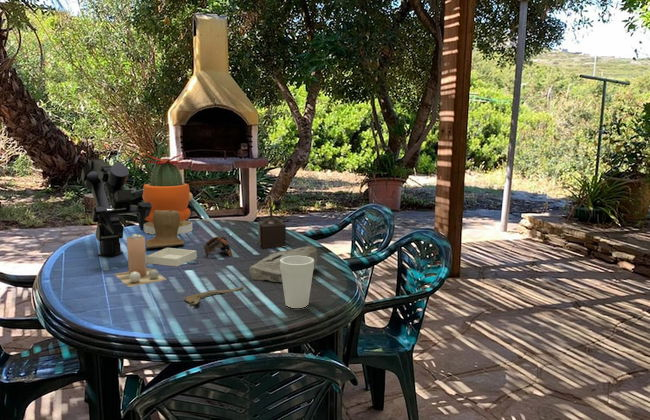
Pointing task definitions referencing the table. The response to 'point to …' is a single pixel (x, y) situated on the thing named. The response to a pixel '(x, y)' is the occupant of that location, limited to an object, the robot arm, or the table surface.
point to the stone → (278, 263)
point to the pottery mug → (217, 245)
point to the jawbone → (196, 297)
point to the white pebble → (134, 276)
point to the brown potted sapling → (272, 229)
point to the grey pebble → (153, 274)
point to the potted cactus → (167, 194)
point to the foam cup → (297, 280)
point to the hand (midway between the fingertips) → (128, 232)
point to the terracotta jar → (136, 254)
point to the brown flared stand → (165, 229)
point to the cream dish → (171, 257)
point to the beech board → (143, 280)
